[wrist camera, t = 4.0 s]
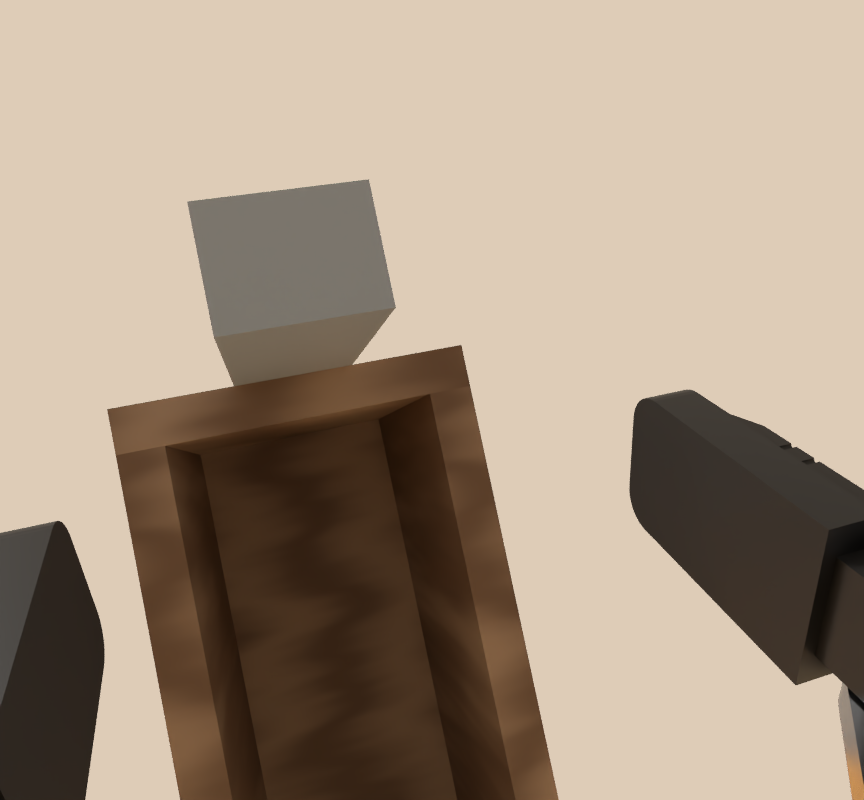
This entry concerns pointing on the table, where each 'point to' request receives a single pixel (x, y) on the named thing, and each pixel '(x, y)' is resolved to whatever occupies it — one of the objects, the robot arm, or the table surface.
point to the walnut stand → (331, 589)
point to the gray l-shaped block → (292, 278)
